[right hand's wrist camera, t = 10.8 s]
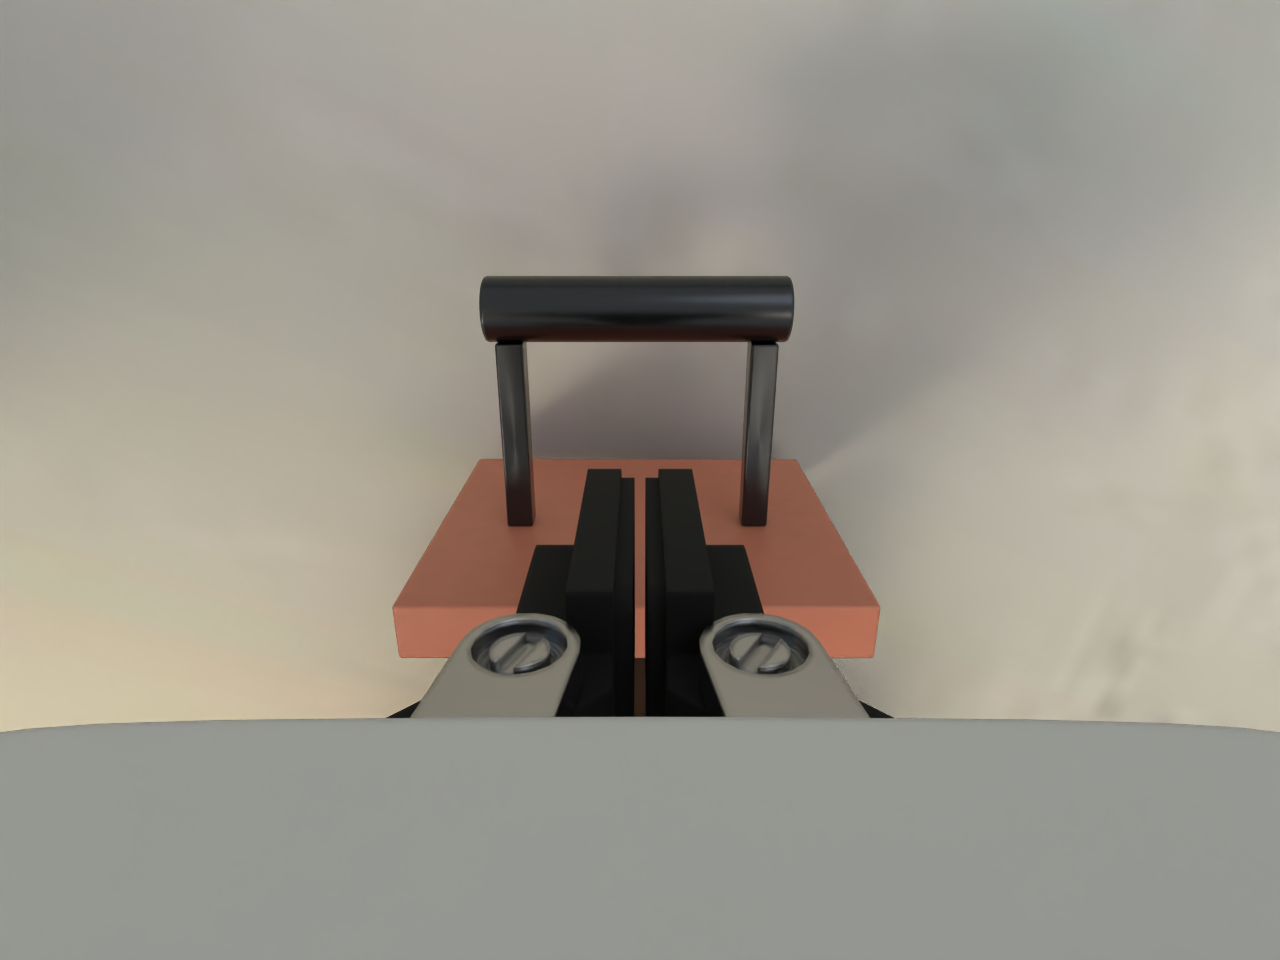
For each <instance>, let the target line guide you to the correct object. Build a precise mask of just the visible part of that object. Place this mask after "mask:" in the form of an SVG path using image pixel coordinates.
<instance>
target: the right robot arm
mask: <svg viewBox="0 0 1280 960" xmlns="http://www.w3.org/2000/svg"><path fill="white" fill-rule="evenodd" d="M634 692H635V478H622V470H621V469H588V471H587V476H586V482H585V487H584V492H583V498H582V503H581V509H580V514H579V520H578V525H577V530H576V536H575V541H574V545H536V547H535V549H534V553H533V556H532V559H531V563H530V566H529V570H528V573H527V577H526V580H525V584H524V587H523V590H522V594H521V597H520V601H519V604H518V608H517V611H516V614H511V615H505V616H500V617H497V618H494V619H492V620H489V621H486V622H484V623H482V624H480V625H479V626H477V627H475V628H474V629H472V630H470V631H469V632H468V634H467V635H466V636H465V637H464V638H463V639H462V640H461V641H460V643H459V644H458V646H457V647H456V649H455V650H454V652H453V653H452V655H451V656H450V658H449V659H448V661H447V662H446V664H445V665H444V667H443V668H442V670H441V671H440V673H439V675H438V676H437V678H436V679H435V681H434V682H433V684H432V685H431V687H430V688H429V690H428V691H427V693H426V694H425V696H424V697H423V699H422V700H421V701H419V702H417V703H415V704H413V705H411V706H409V707H407V708H405V709H403V710H401V711H399V712H397V713H395V714H393V715H391V716H389V717H387V718H366V719H272V720H208V721H175V722H143V723H110V724H89V725H75V726H61V727H47V728H32V729H22V730H15V731H7V732H0V960H1280V732H1273V731H1264V730H1256V729H1247V728H1236V727H1220V726H1204V725H1188V724H1172V723H1140V722H1103V721H1065V720H1028V719H912V718H893V717H891V716H889V715H887V714H885V713H883V712H881V711H879V710H877V709H875V708H873V707H871V706H869V705H867V704H865V703H863V702H861V701H859V700H858V699H857V697H856V696H855V694H854V693H853V691H852V690H851V688H850V687H849V685H848V684H847V682H846V681H845V679H844V678H843V676H842V675H841V673H840V671H839V670H838V668H837V667H836V665H835V664H834V662H833V661H832V659H831V658H830V656H829V655H828V653H827V652H826V650H825V649H824V647H823V646H822V644H821V643H820V641H819V640H818V639H817V638H816V637H815V636H814V635H813V634H812V632H811V631H810V630H808V629H806V628H805V627H803V626H801V625H800V624H798V623H796V622H794V621H791V620H788V619H786V618H783V617H780V616H775V615H769V614H764V611H763V608H762V604H761V601H760V597H759V594H758V590H757V587H756V584H755V580H754V577H753V573H752V570H751V566H750V563H749V559H748V556H747V553H746V549H745V547H744V545H706V541H705V536H704V530H703V525H702V520H701V514H700V509H699V503H698V498H697V492H696V487H695V482H694V476H693V471H692V469H659V470H658V478H645V692H646V717H634Z"/></svg>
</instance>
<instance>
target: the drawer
mask: <svg viewBox="0 0 1280 960" xmlns="http://www.w3.org/2000/svg"><path fill="white" fill-rule="evenodd" d="M479 310H480V321H481V327H482V332H483V335H484V337H485V339H486V340H487V341H489V342H497V343H496V345H495V352H496V366H497V381H498V395H499V409H500V423H501V437H502V452H503V459H480V460H479V461H478V463H477V465H476V466H475V468H474V470H473V471H472V473H471V475H470V476H469V478H468V480H467V481H466V483H465V485H464V487H463V488H462V490H461V492H460V493H459V495H458V497H457V498H456V500H455V502H454V503H453V505H452V507H451V509H450V510H449V512H448V514H447V515H446V517H445V519H444V520H443V522H442V524H441V525H440V527H439V529H438V531H437V532H436V534H435V536H434V537H433V539H432V541H431V542H430V544H429V546H428V547H427V549H426V551H425V553H424V554H423V556H422V558H421V559H420V561H419V563H418V564H417V566H416V568H415V569H414V571H413V573H412V575H411V576H410V578H409V580H408V581H407V583H406V585H405V586H404V588H403V590H402V591H401V593H400V595H399V597H398V598H397V600H396V602H395V603H394V605H393V614H394V622H395V629H396V636H397V644H398V651H399V656H400V657H401V658H450V656H451V655H452V653H453V652H454V650H455V649H456V647H457V646H458V644H459V643H460V641H461V640H462V639H463V638H464V637H465V636H466V635H467V634H468V632H469V631H470V630H472V629H474V628H475V627H477V626H479V625H480V624H482V623H484V622H486V621H489V620H492V619H494V618H497V617H500V616H505V615H511V614H516V611H517V608H518V604H519V601H520V597H521V594H522V590H523V587H524V584H525V580H526V577H527V573H528V570H529V566H530V563H531V559H532V556H533V553H534V549H535V547H536V545H574V541H575V536H576V530H577V525H578V520H579V514H580V509H581V503H582V498H583V492H584V487H585V482H586V476H587V471H588V469H621V470H622V478H635V692H634V717H646V692H645V478H658V470H659V469H692V471H693V476H694V482H695V487H696V492H697V498H698V503H699V509H700V514H701V520H702V525H703V530H704V536H705V541H706V545H744V547H745V549H746V553H747V556H748V559H749V563H750V566H751V570H752V573H753V577H754V580H755V584H756V587H757V590H758V594H759V597H760V601H761V604H762V608H763V611H764V614H769V615H775V616H780V617H783V618H786V619H788V620H791V621H794V622H796V623H798V624H800V625H801V626H803V627H805V628H806V629H808V630H810V631H811V632H812V634H813V635H814V636H815V637H816V638H817V639H818V640H819V641H820V643H821V644H822V646H823V647H824V649H825V650H826V652H827V653H828V655H829V656H830V658H872V657H873V656H874V651H875V644H876V636H877V629H878V622H879V614H880V605H879V604H878V602H877V600H876V598H875V597H874V595H873V593H872V591H871V590H870V588H869V586H868V584H867V583H866V581H865V579H864V577H863V576H862V574H861V572H860V570H859V569H858V567H857V565H856V563H855V562H854V560H853V558H852V556H851V555H850V553H849V551H848V549H847V548H846V546H845V544H844V542H843V541H842V539H841V537H840V535H839V534H838V532H837V530H836V528H835V527H834V525H833V523H832V521H831V520H830V518H829V516H828V514H827V513H826V511H825V509H824V507H823V506H822V504H821V502H820V500H819V499H818V497H817V495H816V493H815V492H814V490H813V488H812V486H811V485H810V483H809V481H808V479H807V478H806V476H805V474H804V472H803V471H802V469H801V467H800V465H799V464H798V462H797V460H795V459H771V452H772V438H773V423H774V408H775V393H776V379H777V364H778V349H779V346H778V344H777V343H776V342H786V341H787V340H788V339H789V337H790V334H791V331H792V326H793V318H794V289H793V284H792V280H791V278H790V277H788V276H486V277H484V278H483V280H482V283H481V287H480V295H479ZM526 342H748V349H747V368H746V387H745V406H744V425H743V444H742V459H533V455H532V437H531V418H530V400H529V382H528V364H527V346H526Z"/></svg>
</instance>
